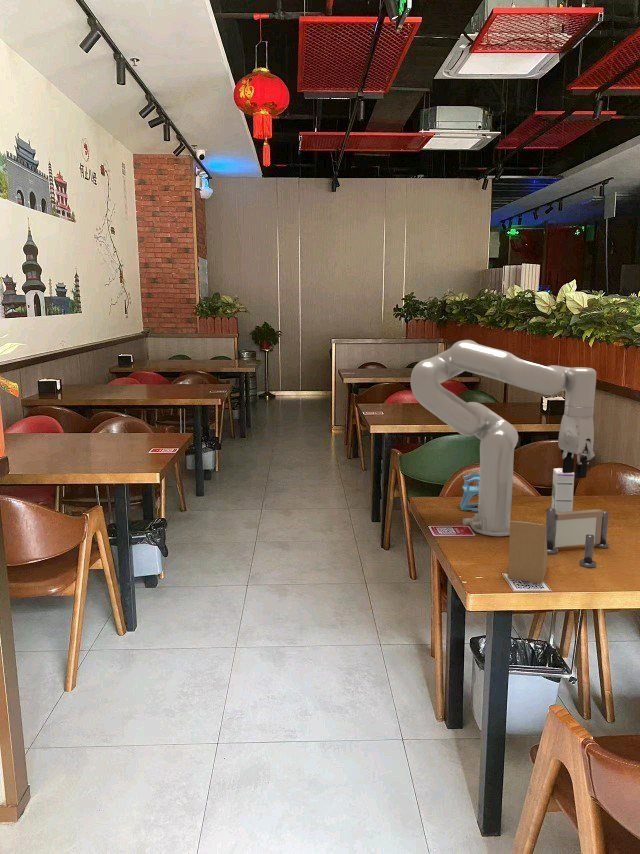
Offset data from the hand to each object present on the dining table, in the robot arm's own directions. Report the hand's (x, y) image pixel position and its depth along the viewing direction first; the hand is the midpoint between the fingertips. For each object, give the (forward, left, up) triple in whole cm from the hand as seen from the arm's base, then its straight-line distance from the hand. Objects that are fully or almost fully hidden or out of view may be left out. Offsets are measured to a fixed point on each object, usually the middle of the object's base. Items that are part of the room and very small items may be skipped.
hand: (574, 474), depth 184 cm
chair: (-13, +34, -20) cm, 41 cm away
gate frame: (-3, -12, -19) cm, 23 cm away
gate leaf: (-2, -6, -18) cm, 19 cm away
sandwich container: (-23, -17, -20) cm, 35 cm away
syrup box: (+13, +23, -20) cm, 33 cm away
